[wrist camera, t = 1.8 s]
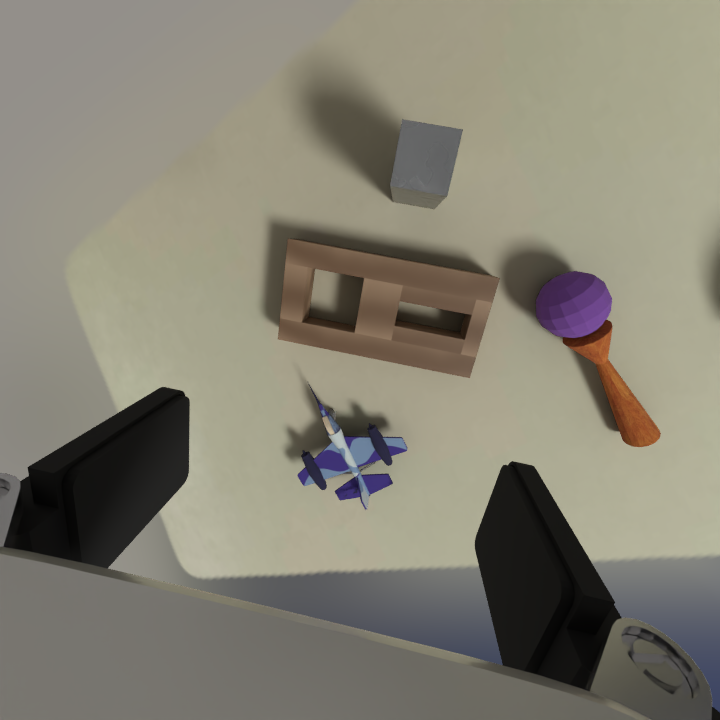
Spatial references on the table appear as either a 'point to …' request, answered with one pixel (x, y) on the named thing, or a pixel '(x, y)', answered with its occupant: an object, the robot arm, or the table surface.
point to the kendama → (594, 344)
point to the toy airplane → (350, 459)
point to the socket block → (387, 307)
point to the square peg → (424, 163)
